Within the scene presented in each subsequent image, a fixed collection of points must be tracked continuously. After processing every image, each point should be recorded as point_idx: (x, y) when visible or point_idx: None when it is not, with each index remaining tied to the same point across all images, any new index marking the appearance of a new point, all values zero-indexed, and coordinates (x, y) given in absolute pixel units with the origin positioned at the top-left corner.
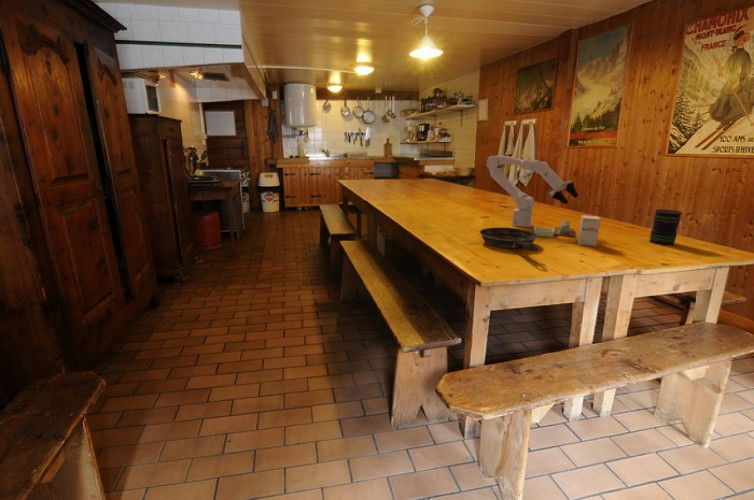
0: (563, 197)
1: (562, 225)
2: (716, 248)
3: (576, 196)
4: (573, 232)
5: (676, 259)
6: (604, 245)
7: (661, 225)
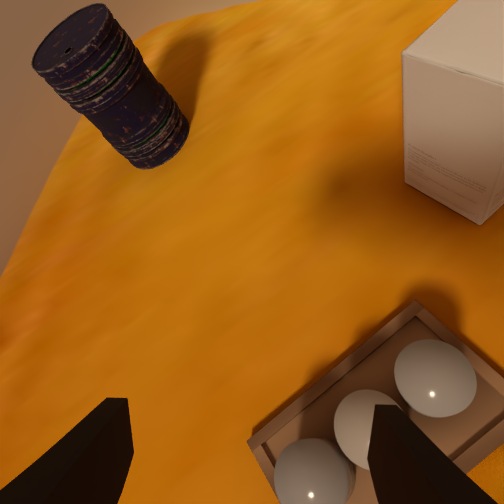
0: (489, 501)
1: (476, 380)
2: None
3: (128, 423)
4: (345, 365)
5: (316, 4)
6: (395, 138)
7: (145, 70)
